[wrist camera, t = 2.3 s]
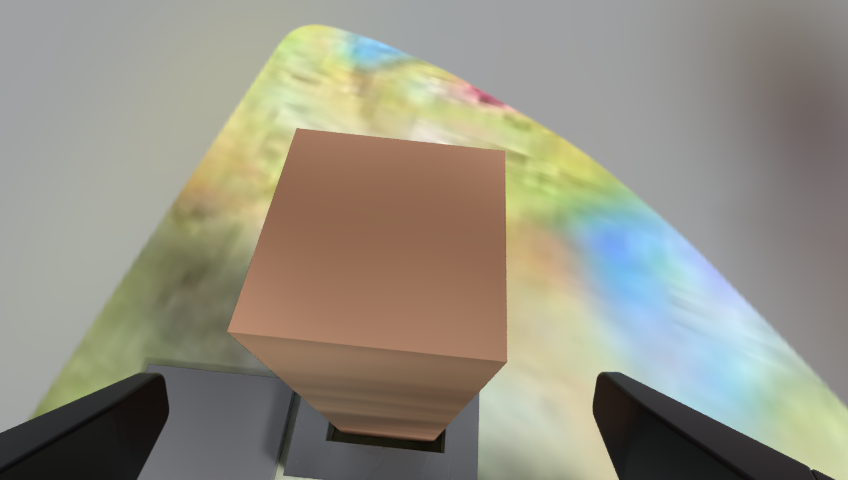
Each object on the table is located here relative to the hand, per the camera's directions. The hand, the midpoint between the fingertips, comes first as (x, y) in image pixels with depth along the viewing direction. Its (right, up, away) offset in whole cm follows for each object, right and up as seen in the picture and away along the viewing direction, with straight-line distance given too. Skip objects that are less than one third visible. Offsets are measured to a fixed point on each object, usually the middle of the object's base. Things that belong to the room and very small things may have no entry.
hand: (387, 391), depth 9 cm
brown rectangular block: (-1, -3, +9) cm, 9 cm away
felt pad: (-8, -5, +7) cm, 12 cm away
